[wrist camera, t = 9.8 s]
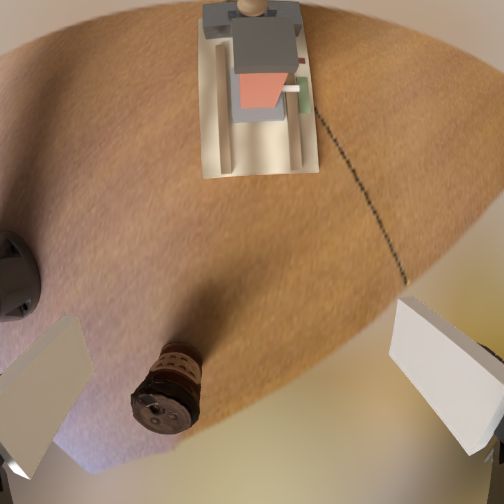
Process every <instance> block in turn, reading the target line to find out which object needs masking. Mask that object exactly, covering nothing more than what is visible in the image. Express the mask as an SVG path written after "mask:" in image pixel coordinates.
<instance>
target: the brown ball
mask: <svg viewBox="0 0 504 504" xmlns="http://www.w3.org/2000/svg"><path fill="white" fill-rule="evenodd" d="M237 7H238V10H239V11H240V12H241V13H242V14H243V15H245V16H250V17H255V16H260V15H262V14H263V13H264V12H265V11H266V10H267V8H268V1H267V0H238V1H237Z"/></svg>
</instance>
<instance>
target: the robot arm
mask: <svg viewBox="0 0 504 504" xmlns="http://www.w3.org/2000/svg"><path fill="white" fill-rule="evenodd" d="M39 296H40V279H39V273H38V269H37V266H36V263H35V260H34V257H33V255H32V253H31V251H30V249H29V248H28V246H27V245H26V244H25V242H24V241H23V240H22V239H21V238H20V237H19V236H18V235H16V234H14V233H12V232H9V231H3V232H0V322H8V321H16V320H20V319H23V318H25V317H26V316H28V315H29V314H30V313H32V312H33V311H34V309H35V308H36V306H37V304H38V301H39ZM389 355H390V356H391V358H392V359H393V360H394V361H395V363H396V364H397V365H398V366H399V367H400V369H401V370H402V371H403V372H404V374H405V375H406V376H407V377H408V378H409V380H410V381H411V382H412V383H413V385H414V386H415V387H416V388H417V389H418V391H419V392H420V393H421V394H422V396H423V397H424V398H425V399H426V401H427V402H428V403H429V404H430V406H431V407H432V408H433V409H434V411H435V412H436V413H437V414H438V416H439V417H440V418H441V419H442V421H443V422H444V423H445V425H446V426H447V427H448V429H449V430H450V431H451V432H452V434H453V435H454V436H455V438H456V439H457V440H458V442H459V443H460V444H461V446H462V447H463V448H464V450H465V451H466V452H467V454H468V455H469V456H470V455H472V454H474V453H475V452H477V451H479V450H480V449H482V448H484V447H485V446H486V445H487V443H488V442H489V440H490V438H491V437H492V435H493V434H495V435H496V436H497V438H498V439H497V440H496V442H495V443H494V445H493V446H492V448H491V449H490V451H489V452H488V454H487V455H486V457H485V459H484V462H487V460H488V459H489V458H490V456H491V455H492V454H493V458H492V460H491V461H490V462H493V464H492V473H491V481H490V488H489V494H488V500H487V504H504V361H502V358H500V357H499V356H497V355H495V353H494V352H493V351H491V350H490V349H489V348H487V347H485V346H483V345H481V344H479V343H476V342H475V341H474V340H472V339H470V337H468V336H467V335H466V334H464V333H463V332H462V331H460V330H459V329H457V328H456V327H455V326H454V325H452V324H451V323H449V322H448V321H447V320H445V319H444V318H443V317H441V316H440V315H438V314H437V313H436V312H434V311H433V310H431V309H430V308H429V307H427V306H426V305H424V304H423V303H422V302H420V301H419V300H418V299H416V298H415V297H413V296H410V297H403V298H398V303H397V310H396V317H395V324H394V329H393V335H392V341H391V346H390V351H389ZM94 372H95V370H94V367H93V364H92V361H91V358H90V355H89V352H88V348H87V345H86V342H85V338H84V335H83V332H82V328H81V324H80V321H79V317H78V316H65V315H64V316H63V317H62V318H61V319H60V320H59V321H57V322H56V323H55V324H54V325H53V326H52V327H51V328H50V329H49V330H47V331H46V332H45V333H44V334H43V335H42V336H41V337H40V338H39V339H38V340H37V341H36V342H34V343H33V344H32V345H31V346H30V347H29V348H28V349H27V350H26V351H25V352H24V353H23V354H22V355H21V356H20V357H19V358H18V359H17V360H16V361H15V362H14V363H13V364H12V365H11V366H10V367H9V368H8V369H7V370H6V371H5V372H4V373H2V374H0V504H13V501H12V497H11V493H10V488H9V484H8V479H7V474H6V472H5V469H4V468H3V467H2V464H3V463H4V461H5V462H6V463H7V464H8V465H9V467H10V468H11V469H12V470H13V472H14V473H17V474H19V475H21V476H23V477H25V478H28V479H31V478H32V475H33V474H34V472H35V470H36V468H37V466H38V464H39V462H40V461H41V459H42V457H43V455H44V453H45V452H46V450H47V448H48V447H49V445H50V443H51V441H52V440H53V438H54V436H55V434H56V433H57V431H58V429H59V428H60V426H61V424H62V423H63V421H64V419H65V418H66V416H67V414H68V413H69V411H70V410H71V408H72V406H73V405H74V403H75V401H76V400H77V398H78V397H79V395H80V394H81V392H82V390H83V389H84V387H85V386H86V384H87V383H88V381H89V379H90V378H91V376H92V375H93V373H94Z"/></svg>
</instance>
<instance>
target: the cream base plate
mask: <svg viewBox="0 0 504 504" xmlns="http://www.w3.org/2000/svg"><path fill="white" fill-rule="evenodd" d="M301 17H302V15H301ZM302 23H303V19H302ZM296 45H297V52H298V61H299V67H298V69H297V71H296V73H288V75H287V78H286V80H285V83H284V85H299V88H300V90H299V92H282V97H283V109H284V120H283V121H259V122H240V123H233V114H232V95H231V75H230V69H234V56H233V37H231V38H218V39H208V40H206V38H205V35H204V31H203V18H199V19H198V73H199V112H200V137H201V157H202V175H203V178H204V179H205V178H217V177H230V176H246V175H265V174H291V173H318V172H319V165H318V150H317V136H316V124H315V113H314V103H313V93H312V84H311V75H310V67H309V59H308V52H307V45H306V38H305V31H304V25H302V27H301V30H300V33H299V35H298V37H296Z"/></svg>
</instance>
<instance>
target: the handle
mask: <svg viewBox="0 0 504 504" xmlns="http://www.w3.org/2000/svg"><path fill="white" fill-rule="evenodd" d="M232 36H233V56H234V69H230V75H231V95H232V114H233V123H240V122H259V121H283V120H284V109H283V97H282V92H299V90H300V88H299V85H284V83H285V80H286V78H287V75H288V73H296V71H297V69H298V67H299V61H298V52H297V45H296V37H295V30H294V23H293V18H292V17H242V18H232Z"/></svg>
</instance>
